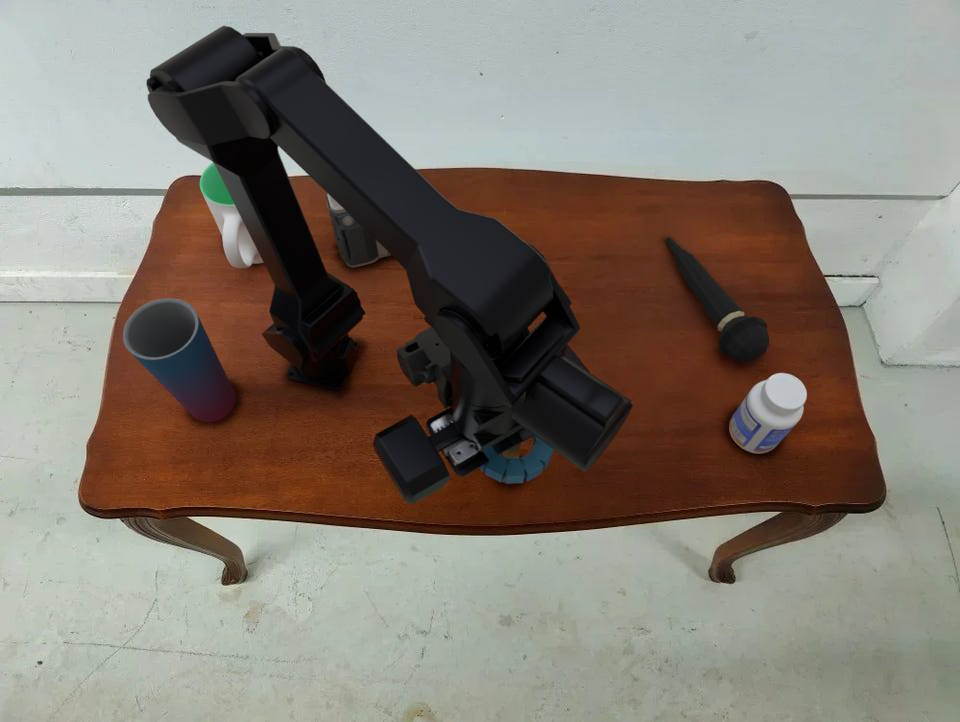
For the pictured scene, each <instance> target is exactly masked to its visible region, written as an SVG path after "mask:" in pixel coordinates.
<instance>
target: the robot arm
mask: <svg viewBox="0 0 960 722" xmlns="http://www.w3.org/2000/svg"><path fill="white" fill-rule="evenodd" d="M145 82H146V83H145V85H146V88H147V92H148V94H147V101H148V104H149V107H150V108H151V110H152V112H153V114H154V115H155V117H156V118H157V120H158V121H159V123H160V124H161V125H162V126H163V127H164V128H165V129H166V131H168V132H169V133H170V134H171V135H172V136H173V137H175V139H176V140H177V142H178V143H180V144H182V145H183V146H185V147H187V148H188V149H190V150H192V151H194V152H195V153H197V154H198V155H200V156H202V157H204V158H206V159H207V160H209V161H210V162H212V163H214V165H215V167H216V168H217V170H218V172H219V174H220V176H221V178H222V180H223V182H224V184H225V186H226V188H227V190H228V192H229V194H230V196H231V198H232V200H233V202H234V204H235V206H236V208H237V210H238V212H239V214H240V216H241V218H242V220H243V222H244V224H245V226H246V228H247V230H248V232H249V234H250V236H251V238H252V240H253V242H254V244H255V246H256V248H257V250H258V252H259V254H260V256H261V258H262V260H263V262H264V263H263V264H264V266H265V268H266V271H267V273H268V274H269V276H270V278H271V280H272V283H273V284H274V288H273V293H272V297H271V302H270V307H269V315H270V317H271V320H272V322H273V323H272V324H271V325H270V326H269V327H268V328H266V329H265V330H264V331H263V332H261V336H262V337H263V339H264V340H265V342H266V343H267V345H268V346H269V347H270V348H271V349H272V350H273V351H274V352H276V353H277V354H278V355H279V356H281V357H282V358H284V359H285V360H286V361H288V363H290V364H291V365H290V366H289V368H288V371H287V373H286V377H287V379H288V380H290V381H292V382H297V383H300V384H305V385H309V386H313V387H317V388H322V389H326V390H328V391H329V390H330V391H334V392H341V391H342V390H343V388H344V386H345V383H346V382H347V379H348V377H349V376H351V375H352V372H353V370H354V368H355V366H356V363H357V360H358V358H359V356H358V352H359V350H360V343H359V342H358V341H356V340H354V339H353V337H351V336H349V333H350V332H351V331H352V330H353V329H354V328H355V327H356V326H357V325H358V324H360V323H361V321H363V319H364V316H365V314H366V311H365V310H364V308H363V307H362V302H361V299H360V298H359V295H358V292H357V291H356V290H355V289H354V288H353V287H351V286H350V285H349V284H347V283H345V282H344V281H343V280H341V279H340V278H337V277H336V276H334V275H332V274H331V273H329V272H328V271H327V270H326V267H325V264H324V262H323V260H322V256H321V254H320V251H319V248H318V247H317V244H316V242H315V240H314V236H313V234H312V232H311V229H310V227H309V225H308V222H307V219H306V217H305V214H304V212H303V210H302V207H301V205H300V202H299V200H298V197H297V195H296V192H295V189H294V187H293V185H292V182H291V179H290V178H289V177H290V176H289V174H288V173H287V170H286V167H285V164H284V162H283V159H282V158H281V153H280V151H279V148H280V149H281V150H282V151H283V152H284V153H285V154H286V155H287V156H288V157H289V158H290V159H291V160H292V161H293V162H294V163H295V164H297V165H298V167H300V169H302V170H303V171H304V172H305V173H306V174H307V175H308V176H309V177H310V178H311V179H312V180H313V181H314V182H315V183H317V185H318V186H319V187H320V188H322V190H324V192H326V194H327V193H328V194H329V195H330V196H331V197H332V198H333V199H334V200H335V201H336V202H337V203H338V204H339V205H340V206H341V207H342V208H344V209H345V210H346V211H347V212H348V213H349V214H350V215H351V216H352V217H353V218H354V219H355V220H356V221H357V222H358V223H359V224H360V225H361V226H362V227H363V228H364V229H365V230H366V231H367V232H368V233H370V234H371V235H372V236H373V237H374V238H375V239H376V240H377V241H378V242H379V243H380V244H381V245H382V246H383V247H384V248H385V249H386V250H387V251H388V252H389V253H390V254H391V255H390V256H392V257H393V258H394V259H395V260H396V261H397V263H399V265H400V266H401V267H402V268H403V270H405V272H406V276H407V280H408V283H409V286H410V291H411V294H412V299H413V302H414V304H415V307H417V309H418V310H419V311H420V312H421V313H422V314H423V315H424V318H423V319H424V322H425V323H426V324H427V325H428V326H430V327H428V328H425V329H424V330H422V331H420V332H419V333H417V334H416V335H415V336H414V337H413V339H411V340H409V341H407V342H405V343H404V345H402V346H400V347H398V348H396V359H397V362H398V365H399V368H400V370H401V372H402V374H403V375H404V377H405V378H406V379H407V380H408V382H410V383H409V384H411V385H412V386H413V387H415V388H417V387H418V386H421V385H423V384H424V383H425V384H426V385H430V384H432V383H433V384H434V385H435V387H436V392H437V393H436V394H437V399H438V400H439V401H440V403H441V405H442V406H443V408H444V410H443V411H440V412H439V413H436V414H435V415H433V416H432V417H430V418H428V419H427V421H426V423H425V426H426V429H427V431H428V434H429V435H428V434H427V433H426V431H425V429H424V428H423V427H422V425H421V424H420V422H419V420H418V418H416V417H415V416H414V415H413V414H410V415H409V416H406V417H404V418H403V419H401V420H399V421H397V422H395V423H393V424H392V425H390V426H388V427H386V428H384V429H383V430H381V431H378V432H376V433H375V436H374V439H373V442H372V445H373V449H374V452H375V455H377V457H378V459H379V461H380V462H381V464H382V466H383V467H384V469H385V471H386V472H387V474H388V476H389V478H390V480H391V481H392V482H393V484H394V486H395V488H396V489H397V491H398V493H399V494H400V496H401V498H402V499H403V501H404V503H409V504H412V505H415V504H417V503H419V502H420V501H422V500H424V499H426V498H427V497H430V496H431V495H433V494H434V493H436V492H438V491H440V490H441V489H443V488H444V487H445V486H446V485H447V484H448V483H449V482H450V481H451V474H450V472H449V470H448V467H447V465H446V463H445V461H444V460H443V458H442V456H441V455H440V452H441V453H442V455H443V456H444V459H445V460H446V461H447V463H448V465H449V466H450V468H451V469H452V471H453V472H454V474H455V475H456V476H457V477H466V476H467V475H470V473H473V472H474V471H476V470H478V469H480V467H481V466H483V465H485V464H486V463H488V462H489V459H488V458H487V456H486V455H485V454H484V452H483V451H484V450H485V449H487V448H489V447H491V446H493V448H494V449H495V451H496V452H497V453H498V454H500V455H501V454H503V452H504V451H506V450H508V449H510V448H512V447H514V446H516V445H518V444H520V443H521V444H522V443H524V442H526V441H528V440H529V439H532V437H533V436H534V435H535V436H536V437H537V438H539V439H540V440H541V441H543V442H544V443H546V444H547V445H548V446H550V447H551V448H552V449H554V450H553V451H555V452H556V453H558V454H559V455H561V456H562V457H563V458H565V459H566V460H568V461H569V462H570V463H572V464H573V465H575V466H576V467H577V468H579V469H580V470H581V471H583V472H584V473H586V472H588V471H589V470H590V469H591V468H592V467H593V466H594V465H595V463H596V462H597V461H598V460H599V459H600V458H601V456H602V455H603V453H604V452H605V451H606V449H607V448H608V447H609V445H611V443H612V442H613V440H614V438H615V437H616V435H617V434H618V433H619V431H620V429H621V428H622V427H623V425H624V423H625V422H626V420H627V419H628V417H629V415H630V413H631V411H632V409H633V407H634V404H633V403H632V400H631V399H630V398H628V397H627V396H625V395H624V394H622V393H621V392H619V391H618V390H616V389H615V388H613V387H612V386H610V385H609V384H608V383H606V382H605V381H603V380H602V379H600V378H599V377H597V376H596V375H594V374H593V373H591V372H590V370H589V369H588V367H587V366H586V365H585V364H584V363H583V361H582V360H581V358H580V357H578V355H577V354H576V352H575V351H574V350H573V349H572V348H571V347H570V345H569V343H570V342H571V340H572V339H574V337H575V336H576V335H577V333H579V331H580V330H581V325H580V323H579V321H578V319H577V318H576V316H575V314H574V311H573V310H572V308H571V305H572V304H573V302H572V301H571V299H570V298H569V296H568V295H567V294H566V291H565V290H564V289H563V288H562V286H561V285H560V282H558V280H557V278H556V277H555V275H554V272H553V270H552V269H551V267H550V265H549V263H548V261H547V260H546V258H545V257H544V255H543V254H542V252H540V251H539V250H538V249H537V248H535V246H534V245H532V244H530V243H528V242H527V241H525V240H524V239H522V238H521V237H520V236H519V235H517V234H516V233H515V232H513V231H512V230H511V229H510V228H509V227H507V226H506V225H505V224H503V223H502V222H501V221H500V220H498V219H497V218H495V217H493V216H488V215H485V214H480V213H476V212H472V211H469V210H464V209H461V208H458V207H457V206H456V205H454V204H453V203H452V202H451V201H450V200H449V199H447V198H446V197H444V195H443V194H442V193H441V192H440V191H439V190H437V189H436V188H435V187H434V186H433V185H432V183H430V182H429V181H428V179H426V178H425V177H424V176H423V175H422V174H420V172H419V171H417V169H416V168H414V167H413V165H411V164H410V163H409V162H408V161H407V160H406V159H405V158H404V157H403V156H402V155H401V154H400V153H399V152H398V151H397V150H396V149H395V148H394V147H393V146H392V145H391V144H390V143H389V142H387V141H386V139H384V138H383V137H382V136H381V134H380V133H378V132H377V131H376V130H375V129H374V128H373V127H372V126H371V125H370V124H369V123H368V122H367V121H366V119H364V118H363V117H362V116H361V115H360V114H359V113H357V111H355V109H354V108H352V107H351V106H350V105H349V103H347V102H346V101H345V100H344V99H343V98H342V97H341V96H340V95H339V94H338V93H337V92H336V91H335V90H334V89H332V87H331V86H330V85H328V83H327V81H326V78H325V76H324V73H323V72H322V70H321V68H320V67H319V65H318V63H317V62H316V61H315V60H314V59H313V58H312V56H311V55H310V54H309V53H308V52H307V51H305V50H303V49H302V48H301V47H297V46H293V45H282V44H281V43H280V41H279V38H278V37H277V36H276V33H274V32H244V33H243V34H242V33H241V32H240V31H238V30H237V29H235V28H233V27H231V26H229V25H222V26H220V27H217V29H215V30H213V31H211V32H210V33H208V34H207V35H205V36H204V37H202V38H200V39H199V40H197V41H195V42H194V43H192V44H191V45H188V47H186V48H184V49H183V50H181V51H180V52H178V53H176V54H175V55H173V56H171V57H169V58H168V59H166V60H165V61H163V62H161V63H159V65H157V66H155V67H153V68H152V69H150V72H149V77H148V78H147V79H146V81H145ZM542 313H543V314H544V315H545V316H544V317H543V318H542V320H541V321H540V322H539V323H538V324H537V325H536V326H535V327H534V328H533V329H532V331H530V329H529V327H530V326H532V324H533V323H534V322H535V321H536V320H537V319H538V318H539V316H540V315H541V314H542ZM291 375H292V376H291ZM338 386H339V387H338Z"/></svg>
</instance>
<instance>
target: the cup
mask: <svg viewBox="0 0 960 722" xmlns="http://www.w3.org/2000/svg"><path fill="white" fill-rule="evenodd" d="M122 331H123V332H122V341H123V344H124V346H125V349H126V350H127V351H128V352H129V353H130V354H131V355H132V356H133V357H134V358H135V359H136V360H137V361H138V362H139V363H140V364H141V365H142V366H143V368H144V369H146V370H147V371H148V372H149V373H150V374H151V375H152V376H153V377H154V378H155V380H157V382H159V383H160V384H161V385H162V386H163V388H164V389H165V390H167V391H168V393H170V395H171V396H172V397H174V399H175V400H177V402H179V404H180V405H181V406H182V407H183V408H184V409H185V410H186V411H187V412H188V413H189V414H190V415H191V416H192V417H193V418H195V420H197V421H199V422H202V423H216V422H219V421H220V420H222V419H224V418H226V417H227V416H228V415H229V414H230V413H231V412H232V411H233V409H234V407H235V405H236V400H237V399H236V398H237V396H236V393H235V390H234V388H233V386H232V384H231V382H230V380H229V377H228V375H227V374H226V371H225V369H224V367H223V366H222V363H221V361H220V358H219V357H218V354H217V352H216V350H215V348H214V346H213V343H212V342H211V340H210V337H209V335H208V334H207V332H206V328H205V327H204V325H203V323H202V321H201V319H200V316H199V315H198V312H197V310H196V309H195V307H194V306H192V304H190V303H189V302H187V301H185V300H183V299H179V298H176V297H175V298H173V297H164V298H157V299H154V300H151V301H149V302H146V303H145V304H143V305H142V306H139V307H138V308H137V309H136V310H135V311H134V312H133V313H132V314H130V316H129V317H128V319H127V320H126V322H125V324H124V327H123V330H122Z"/></svg>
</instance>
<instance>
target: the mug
mask: <svg viewBox="0 0 960 722" xmlns="http://www.w3.org/2000/svg"><path fill="white" fill-rule="evenodd" d="M199 188H200V192H201V193H202V196H203V198H204V200H205V202H206V204H207V206H208V208H209V210H210V213H211V215H212V217H213V220H214V221H215V224H216V226H217V228H218V230H219V232H220V234H221V237H222V246H223V251H224V254H225V257H226V259H227V261H228V263H229V264H230V265H231V267H233V268H236V269H248V268H250V267H251V266H252V264H253V265H254V264H256V265H257V264H264V262H263V260H262V258H261V256H260V254H259V252H258V250H257V248H256V246H255V244H254V242H253V240H252V238H251V236H250V234H249V232H248V230H247V228H246V226H245V224H244V222H243V220H242V218H241V216H240V214H239V212H238V210H237V208H236V206H235V204H234V202H233V200H232V198H231V196H230V194H229V192H228V190H227V188H226V186H225V184H224V182H223V180H222V178H221V176H220V174H219V172H218V170H217V168H216V167H215V165H214V163H213V162H212V163H210V164H209V165H208V166H207V167H206V168H205V169H204V170H203V172H202V174H201V176H200V179H199Z"/></svg>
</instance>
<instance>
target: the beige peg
mask: <svg viewBox="0 0 960 722" xmlns="http://www.w3.org/2000/svg"><path fill="white" fill-rule="evenodd" d="M521 445H522V443H520V444H518V445H516V446H514V447H512V448H510V449H508V450H506V451H504V452H502V456H504V457H506V458H508V459H509V458H520V451H521V447H522V446H521ZM501 483H505V477H504V479H503V480H502V482H501ZM505 484H506V483H505Z"/></svg>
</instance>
